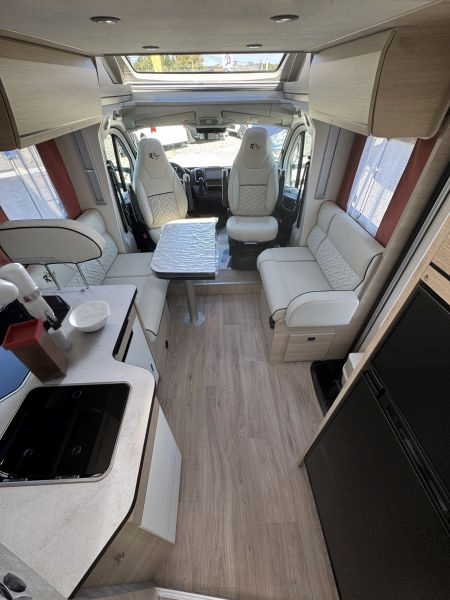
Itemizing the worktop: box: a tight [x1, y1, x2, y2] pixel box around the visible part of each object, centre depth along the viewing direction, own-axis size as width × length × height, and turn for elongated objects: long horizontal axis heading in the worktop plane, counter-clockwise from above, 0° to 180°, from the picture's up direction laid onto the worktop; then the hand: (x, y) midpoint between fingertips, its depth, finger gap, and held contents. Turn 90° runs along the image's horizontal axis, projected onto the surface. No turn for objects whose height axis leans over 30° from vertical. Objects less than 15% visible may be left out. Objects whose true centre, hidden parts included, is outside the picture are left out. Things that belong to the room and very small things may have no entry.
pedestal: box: [9, 326, 69, 384], centre depth 100 cm, size 9×9×23 cm
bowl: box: [68, 300, 111, 333], centre depth 125 cm, size 18×18×7 cm
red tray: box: [1, 318, 44, 352], centre depth 91 cm, size 10×10×2 cm
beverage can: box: [47, 326, 72, 351], centre depth 113 cm, size 5×5×12 cm
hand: (51, 324), depth 107 cm, fingers open, 9 cm apart
